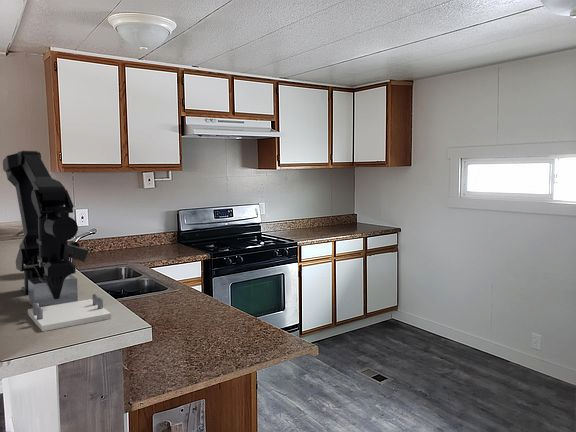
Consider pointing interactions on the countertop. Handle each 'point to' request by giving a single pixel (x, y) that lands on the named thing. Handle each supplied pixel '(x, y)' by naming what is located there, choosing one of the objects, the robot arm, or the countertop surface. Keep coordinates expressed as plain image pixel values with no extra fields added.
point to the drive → (44, 297)
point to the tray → (69, 313)
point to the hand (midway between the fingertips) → (53, 296)
